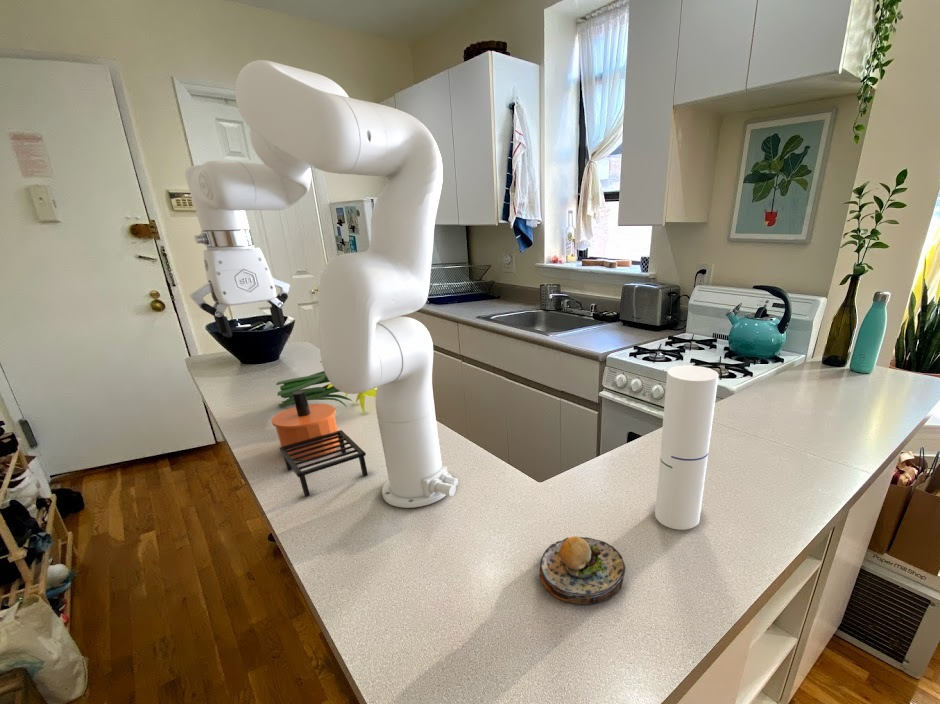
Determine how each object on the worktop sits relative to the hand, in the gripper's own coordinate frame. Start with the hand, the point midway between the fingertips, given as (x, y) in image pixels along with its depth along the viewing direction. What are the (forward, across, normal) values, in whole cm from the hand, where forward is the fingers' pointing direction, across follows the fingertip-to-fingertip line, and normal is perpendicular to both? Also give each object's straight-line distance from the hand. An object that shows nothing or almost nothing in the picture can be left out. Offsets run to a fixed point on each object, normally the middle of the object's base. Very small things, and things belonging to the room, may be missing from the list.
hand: (254, 331), depth 93 cm
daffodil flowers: (+26, +16, +12) cm, 33 cm away
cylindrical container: (+26, +27, -81) cm, 89 cm away
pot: (+26, +3, -6) cm, 27 cm away
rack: (+26, -1, -19) cm, 32 cm away
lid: (+18, +3, -6) cm, 19 cm away
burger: (+26, +6, -76) cm, 80 cm away
